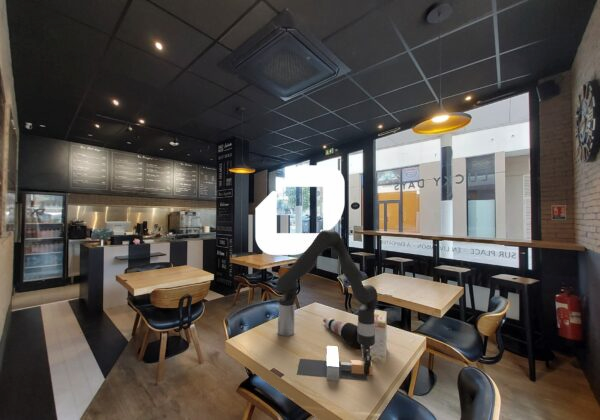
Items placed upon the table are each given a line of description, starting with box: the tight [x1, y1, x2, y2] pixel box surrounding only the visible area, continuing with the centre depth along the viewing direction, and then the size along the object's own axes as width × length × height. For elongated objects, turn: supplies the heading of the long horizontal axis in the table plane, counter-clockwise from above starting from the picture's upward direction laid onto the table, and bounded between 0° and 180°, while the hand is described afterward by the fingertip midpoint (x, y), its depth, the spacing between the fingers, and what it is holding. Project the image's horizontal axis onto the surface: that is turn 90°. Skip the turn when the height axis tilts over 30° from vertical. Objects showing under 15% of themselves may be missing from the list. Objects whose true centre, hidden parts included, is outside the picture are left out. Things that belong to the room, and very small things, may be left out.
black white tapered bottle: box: [322, 317, 361, 349], centre depth 142 cm, size 10×34×10 cm, turn 28°
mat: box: [296, 358, 368, 382], centre depth 110 cm, size 30×12×1 cm, turn 83°
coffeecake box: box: [370, 309, 388, 365], centre depth 123 cm, size 15×7×20 cm, turn 157°
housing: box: [326, 345, 340, 382], centre depth 110 cm, size 5×16×6 cm, turn 173°
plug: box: [340, 359, 374, 376], centre depth 109 cm, size 14×3×4 cm, turn 83°
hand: (365, 370), depth 108 cm, fingers closed on plug, 3 cm apart
